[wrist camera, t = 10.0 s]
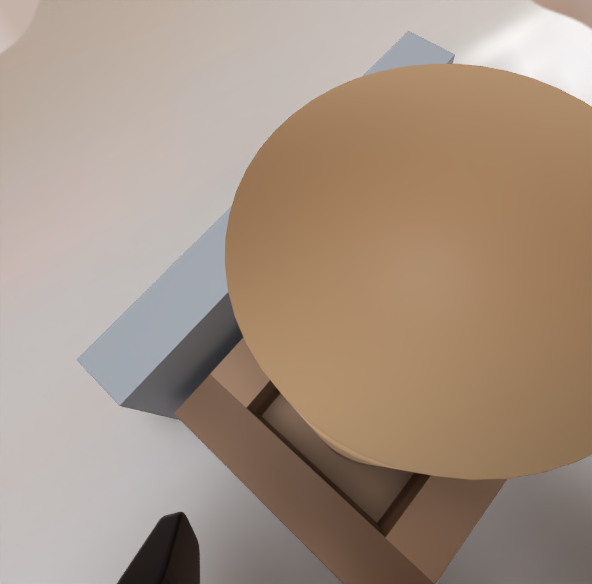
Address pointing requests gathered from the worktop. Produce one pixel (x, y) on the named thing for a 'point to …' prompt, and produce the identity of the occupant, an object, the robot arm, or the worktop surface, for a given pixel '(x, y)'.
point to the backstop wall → (193, 306)
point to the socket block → (332, 483)
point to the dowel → (425, 270)
